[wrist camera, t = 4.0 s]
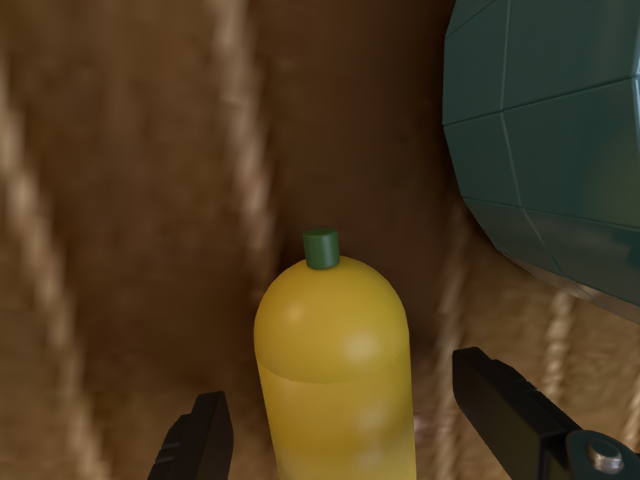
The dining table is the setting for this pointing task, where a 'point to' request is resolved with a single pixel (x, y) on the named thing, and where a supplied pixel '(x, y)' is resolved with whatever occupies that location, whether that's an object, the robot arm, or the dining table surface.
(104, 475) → the dining table surface
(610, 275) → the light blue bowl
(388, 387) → the squash
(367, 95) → the dining table surface
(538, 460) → the robot arm
